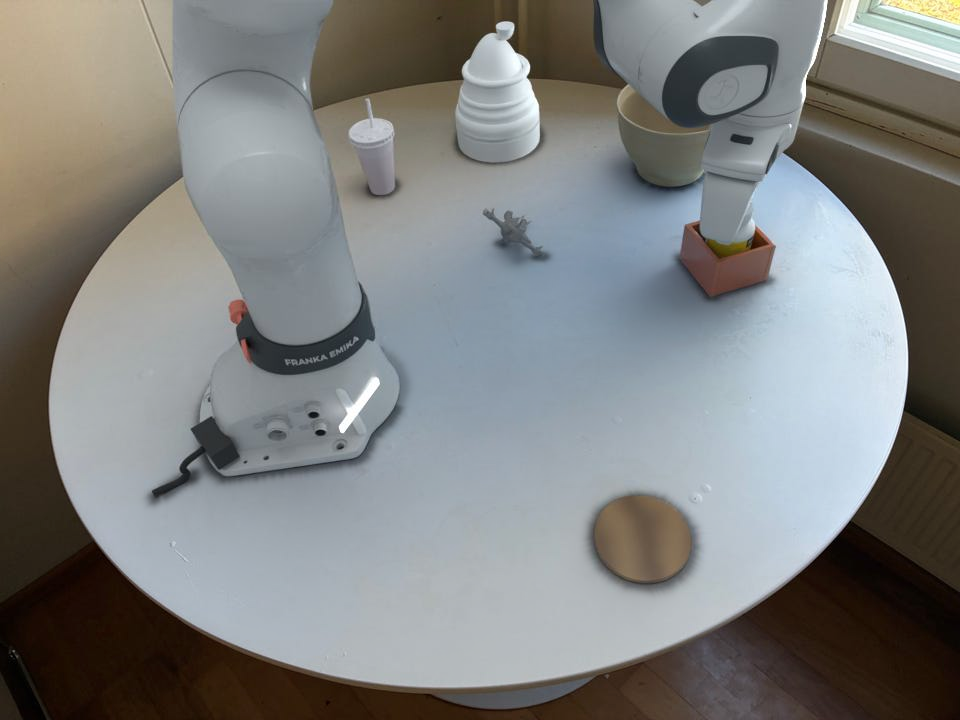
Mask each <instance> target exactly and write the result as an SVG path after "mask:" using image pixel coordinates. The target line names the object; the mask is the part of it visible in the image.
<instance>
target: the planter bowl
mask: <svg viewBox="0 0 960 720" xmlns="http://www.w3.org/2000/svg"><path fill="white" fill-rule="evenodd" d="M616 112H617V123H618V124H617V125H618V130H619V131H618V132H619V135H620V136H619V137H620V139H621V142H622V145H623V147H624V149H625V151H626V153H627V155H628V157H629V159H630V160H631V161H632V162H633V163H634V165H635V166H636V170H637V173H638V175H640V177H641V178H642V179H643V180H645V181H646V182H648V183H650V184H653V185H656V186H660V187H667V188H671V187H673V188H674V187H682V186H687V185H690V184H692V183H694V182H696V181H697V180H698V179H700V178H701V177H702V175H703V174H704V172H705V171H704V170H702V169H701V160H702V155H703V152H704V148H705V145H706V142H707V139H708V133H709V125H707V126H703V127H698V128H684V127H681V126H678V125H676V124H674V123H673V122H672V121H670V120H669V119H668V118H666V117H665V116H664V115H663V114H661V113H660V112H659V111H658V110H657V109H656V108H655V107H654V106H653V105H651V104H650V103H649V102H648V101H647V100H645V99H644V98H643V97H642V96H641V95H640V94H639V93H638V92H637V91H636V90H635V89H633V88H632V87H631V86H630V85H629V84H628V83H627V84H626V85H625V86H624V87H623V88H622V89H621V90H620V92H619V93H618V96H617V98H616Z"/></svg>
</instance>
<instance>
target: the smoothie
mask: <svg viewBox="0 0 960 720" xmlns="http://www.w3.org/2000/svg"><path fill="white" fill-rule="evenodd" d="M365 106H366V110H367V115H368V118H366V119H362V120H360V121H358V122H356V123H354V124H353V125H352V126H351V127H350V128H349V130H348V138H349V139H348V140H349V143H350V144H351V145H352V146H353V147H354V151H355V153H356V155H357V158H358V161H359V163H360V166H361V168H362V171H363V174H364V176H365V180H366V182H367V185H368V187H369V190H370V192H371V193H372V194H373V195H375V196H385V195H388V194H391V193H392V192H393V191H394V190H395V189H396V177H395V176H396V175H395V160H394V159H395V157H394V137H395V130H394V124H392V122H391V121H389V120H387V119H384V118H380V117H379V118H378V117H374V116H373V115H374V114H373V110H372V105H371V100H370V98H369V97H368V98H365Z"/></svg>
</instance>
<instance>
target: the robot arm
mask: <svg viewBox="0 0 960 720" xmlns="http://www.w3.org/2000/svg"><path fill="white" fill-rule="evenodd" d="M333 5H334V0H172V103H173V108H174V117H175V125H176V133H177V140H178V148H179V155H180V163H181V171H182V177H183V178H182V179H183V184H184V188H185V191H186V193H187V195H188V199H190V203H191V204H192V207H193V209H194V210H195V212H196V214H197V216H198V218H199V220H200V223H202V225H203V227H204V229H205V231H206V233H207V234H208V236H209V238H211V241H212V242H213V243H214V245H215V247H216V248H217V250H218V251H219V253H220V254H221V255H222V257H223V258H224V260H225V262H226V264H227V265H228V267H229V269H230V272H231V273H232V275H233V278H234V281H235V282H236V285H237V287H238V289H239V292H240V295H241V297H242V299H234V300H232V301H231V302H230V303H229V305H228V312H229V314H230V315H229V320H230V322H231V323H233V324H235V325H236V327H235V334H236V338H237V341H236V342H235V343H234V344H232V345H231V347H229V348H228V349H227V350H226V351H224V353H222V354H221V355H220V356H218V358H217V359H216V361H215V362H214V364H213V367H212V371H211V374H210V383H209V385H208V387H207V388H206V390H205V392H204V395H203V397H202V400H201V404H200V410H199V423H198V424H196V425H193V426H192V427H191V428H190V431H191V433H192V434H193V436H194V437H195V439H196V441H197V443H198V444H199V446H200V447H198V448H197V449H196V450H195V451H193V452H191V453H190V454H189V455H188V456H187V457H185V458H184V459H183V461H182V462H181V463H180V465H179V469H178V470H179V473H180V474H181V475H180V476H179V477H178V478H176V479H174V480H172V481H170V482H167V483H166V484H163V485H161V486H158V487H156V488H153V489H152V490H151V493H152V494H153V496H154V497H157V496H158V495H161V494H163V493H166V492H168V491H171V490H173V489H176V488H177V487H179V486H181V485H183V484H184V483H185V482H186V481H187V480H188V479H189V478H190V476H191V471H190V469H189V468H188V467H189V466H190V464H191V463H193V462H194V461H195V460H197V459H198V458H200V457H201V456H202V455H203V454H206V457H207V459H208V461H209V463H210V464H211V466H212V467H213V468H214V469H215V470H216V471H217V472H218V473H219V474H220V475H222V476H223V477H235V476H242V475H250V474H257V473H263V472H270V471H277V470H283V469H291V468H297V467H304V466H305V467H306V466H311V465H318V464H324V463H325V464H326V463H331V462H338V461H339V462H340V461H344V460H345V461H346V460H351V459H356V458H357V457H360V455H362V453H363V452H365V451H364V450H365V449H366V447H367V445H368V443H369V441H370V438H371V436H372V435H373V433H374V432H375V431H376V429H378V427H380V426H381V425H382V424H383V423H384V422H385V421H386V420H387V419H388V417H389V416H390V415H391V413H392V412H393V410H394V409H395V407H396V405H397V402H398V399H399V395H400V387H401V385H400V378H399V375H398V372H397V370H396V368H395V367H394V365H393V364H392V363H391V362H390V360H389V359H388V358H387V356H386V355H385V353H384V351H383V350H382V347H381V345H380V344H379V341H378V339H377V337H376V324H375V323H376V322H375V318H374V314H373V311H372V307H371V303H370V300H369V297H368V295H367V292H366V291H365V289H364V286H363V285H362V283H361V282H360V281H359V280H358V274H357V272H356V267H355V263H354V259H353V256H352V253H351V248H350V246H349V245H350V244H349V241H348V237H347V233H346V228H345V222H344V216H343V211H342V206H341V201H340V196H339V192H338V187H337V183H336V178H335V173H334V171H333V165H332V161H331V156H330V153H329V151H328V148H327V145H326V143H325V140H324V138H323V135H322V132H321V130H320V126H319V124H318V121H317V118H316V115H315V112H314V105H313V99H312V92H311V91H312V90H311V75H312V67H313V62H314V58H315V54H316V50H317V45H318V42H319V38H320V36H321V31H322V28H323V25H324V23H325V19H326V18H327V17H328V16H329V14H330V13H331V10H332V9H333ZM827 5H828V0H710V1H709V2H707V3H706V4H704V5H701V4H699V3H698V2H697V1H695V0H593V27H592V28H593V33H592V34H593V43H594V44H593V45H594V49H595V53H596V55H597V57H598V59H599V61H600V63H601V64H602V65H603V66H604V67H605V68H606V69H607V70H609V71H610V72H611V73H613V74H614V75H615V76H617V77H618V78H620V80H621V79H622V80H623V81H624V82H625V83H627V85H628V84H629V85H630V86H631V87H632V88H633V89H635V90H636V91H637V92H638V93H639V94H640V95H641V96H642V97H643V98H644V99H645V100H647V101H648V102H649V103H650V104H651V105H653V106H654V107H655V108H656V109H657V110H658V111H659V112H660V113H661V114H663V115H664V116H665V117H666V118H668V119H669V120H670V121H672V122H673V123H674V124H676V125H678V126H681V127H684V128H698V127H703V126H707V125H709V133H708V139H707V142H706V145H705V148H704V152H703V155H702V160H701V169H702V170H704V172H705V175H704V179H703V183H702V194H701V204H700V214H699V216H700V217H699V221H700V232H701V235H702V236H703V237H705V238H708V239H712V240H716V242H718V243H720V244H724V245H730V244H731V243H732V242H733V241H734V239H735V238H736V236H737V233H738V231H739V228H740V226H741V223H742V221H743V219H744V216H745V214H746V212H747V210H748V207H749V205H750V203H751V202H752V201H753V198H754V195H755V193H756V191H757V189H758V187H759V184H760V182H761V183H762V182H763V181H764V180H765V178H766V176H767V175H768V174H769V172H770V170H771V168H772V167H773V164H774V163H775V162H776V161H777V160H778V158H780V157H781V155H782V154H783V153H784V151H786V150H787V149H788V148H789V147H791V145H792V144H793V143H794V141H795V138H796V134H797V130H798V127H799V123H800V120H801V119H800V118H801V116H802V115H801V114H802V111H803V107H804V103H805V101H806V100H805V99H806V93H807V92H806V91H807V90H806V89H807V87H806V80H807V75H808V73H809V71H810V69H811V68H812V66H813V64H814V62H815V60H816V58H817V53H818V50H819V45H820V42H821V37H822V34H823V29H824V25H825V24H824V23H825V19H826V13H827Z"/></svg>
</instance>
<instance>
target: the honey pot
mask: <svg viewBox="0 0 960 720" xmlns="http://www.w3.org/2000/svg"><path fill="white" fill-rule="evenodd" d="M495 29H496V32H490V33H488V34H486V35H484V36H483V37H482V38H481V39H480V40H479V42H478V43H477V44H476V45H475V48H474V50H473V52H472V54H471V56H470V58H469V59H467V60H466V62H465V63H464V64H463V66H462V68H461V75H462V78H463V82H462V84H461V86H460V87H459V95H458V100H457V104H456V105H455V110H454V116H455V126H456V127H455V129H456V138H457V145H458V148H459V149H460V151H461V152H462V153H463V154H464V155H465V156H467V157H468V158H470V159H473V160H476V161H479V162H483V163H484V162H485V163H505V162H511V161H512V162H513V161H515V160H517V159H521V158H523V157H525V156H527V155H529V154H530V153H532V152H533V151H534V150H535V149H536V148H537V146H539V145H538V144H540V138H541V137H540V136H541V130H540V129H541V128H540V124H541V123H540V105H539V102H538V99H537V98H536V95H535V93H534V90H533V86H532V84H531V80H530V79H528V75H529V74H530V71H531V64H530V61H529V60H528V59H527V58H526V57H525V56H523V55H522V54H520V53H517V52H516V51H515V50H514V48H513V47H512V46H511V44H510V43H509V41H507V40H509V39H511V38H512V36H513V35H514V32H515V23H514V22H512V21H501V22H498V23H497V24H495Z"/></svg>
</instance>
